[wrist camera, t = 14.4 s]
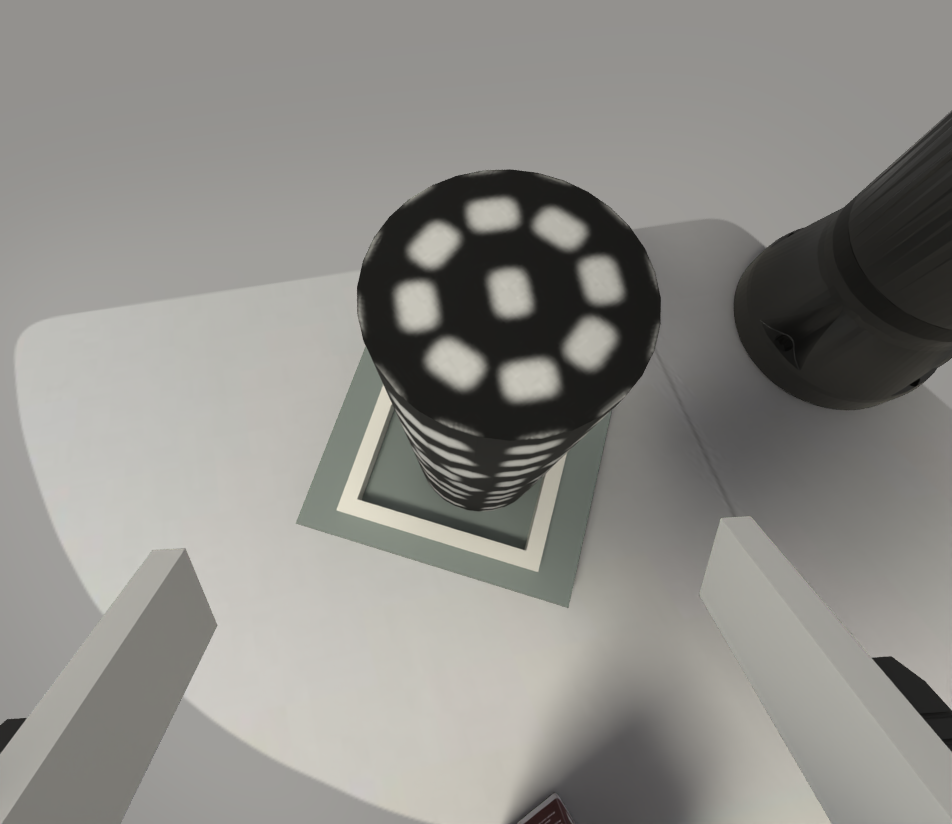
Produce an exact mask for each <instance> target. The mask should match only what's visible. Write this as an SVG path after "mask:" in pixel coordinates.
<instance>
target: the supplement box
mask: <svg viewBox="0 0 952 824" xmlns="http://www.w3.org/2000/svg"><path fill="white" fill-rule="evenodd" d="M517 824H575V822H574V820H573V819H572V817H571V815H570V814H569V812H568V810H567V809H566V807H565V805H564V804H563V802H562V800H561V799H560V797H559V796H558V794H557V793H554V794H552V795H551V796H550V797H549V798H547V799H546V800H545V801H544V802H542V803H541V804H540V805H539V806H537V807H536V808H535V809H534V810H532V811H531V812H530V813H529V814H528V815H526V816H525V817H524V818H523V819H521V820H520V821H519V822H518V823H517Z"/></svg>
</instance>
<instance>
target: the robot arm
mask: <svg viewBox="0 0 952 824" xmlns="http://www.w3.org/2000/svg"><path fill="white" fill-rule="evenodd" d="M734 315H735V322H736V326H737V330H738V333H739V336H740V338H741V341H742V343H743V345H744V347H745V349H746V351H747V352H748V354H749V355H750V357H751V359H752V360H753V361H754V363H755V364H756V365H757V366H758V367H759V369H760V370H761V371H762V372H763V373H764V374H765V375H766V376H767V377H768V378H769V379H770V380H772V381H773V382H774V383H775V384H777V385H778V386H779V387H781V388H782V389H784V390H785V391H787V392H788V393H790V394H792V395H794V396H795V397H797V398H799V399H802V400H804V401H806V402H809V403H811V404H815V405H818V406H822V407H826V408H831V409H839V410H857V409H864V408H869V407H872V406H876V405H879V404H881V403H884V402H887V401H890V400H892V399H895V398H898V397H900V396H903V395H905V394H907V393H909V392H910V391H912V390H914V389H916V388H917V387H919V386H920V385H921V384H923V383H924V382H925V381H926V380H927V379H928V378H929V377H930V376H931V375H932V374H933V373H934V372H935V370H936V369H937V368H938V367H940V366H941V365H943V364H944V363H946V362H947V361H949V360H950V359H951V358H952V111H951V112H950V113H948V114H947V115H946V116H945V117H944V118H943V119H942V120H941V121H940V122H939V123H937V124H936V125H935V126H934V127H933V128H932V129H931V130H929V131H928V132H927V133H926V134H925V135H924V136H923V137H922V138H921V139H919V140H918V141H917V142H916V143H915V144H914V145H913V146H912V147H910V148H909V149H908V150H907V151H906V152H905V153H904V154H903V155H902V156H900V157H899V158H898V159H897V160H896V161H895V162H894V163H893V164H892V165H890V166H889V167H888V168H887V169H886V170H885V171H884V172H882V173H881V174H880V175H879V176H878V177H877V178H876V179H875V180H874V181H873V182H871V183H870V184H869V185H868V186H867V187H866V188H865V189H864V190H862V192H860V193H859V194H858V195H857V196H856V197H855V198H854V199H853V200H852V201H850V203H848V204H847V205H846V206H845V207H844V208H842V209H840V210H838V211H836V212H834V213H832V214H830V215H828V216H826V217H824V218H822V219H820V220H818V221H817V222H815V223H813V224H811V225H809V226H807V227H805V228H802V229H798V230H796V231H793V232H791V233H789V234H787V235H785V236H783V237H781V238H779V239H778V240H776V241H775V242H774V243H773V244H771V245H770V246H769V247H767V248H766V249H765V250H764V251H763V252H762V253H761V254H760V255H759V256H758V257H757V258H756V259H755V260H754V261H753V262H752V263H751V264H750V265H749V267H748V268H747V269H746V270H745V272H744V274H743V275H742V277H741V279H740V281H739V283H738V286H737V289H736V294H735V300H734ZM699 596H700V598H701V599H702V601H703V603H704V605H705V606H706V608H707V610H708V611H709V613H710V615H711V617H712V618H713V620H714V622H715V623H716V625H717V627H718V629H719V630H720V632H721V634H722V636H723V637H724V639H725V641H726V642H727V644H728V646H729V648H730V649H731V651H732V653H733V654H734V656H735V658H736V660H737V661H738V663H739V665H740V667H741V668H742V670H743V672H744V673H745V675H746V677H747V679H748V680H749V682H750V684H751V685H752V687H753V689H754V691H755V692H756V694H757V696H758V697H759V699H760V701H761V703H762V704H763V706H764V708H765V710H766V711H767V713H768V715H769V716H770V718H771V720H772V722H773V723H774V725H775V727H776V728H777V730H778V732H779V734H780V735H781V737H782V739H783V741H784V742H785V744H786V746H787V747H788V749H789V751H790V753H791V754H792V756H793V758H794V759H795V761H796V763H797V765H798V766H799V768H800V770H801V772H802V773H803V775H804V777H805V778H806V780H807V782H808V784H809V785H810V787H811V789H812V790H813V792H814V794H815V796H816V797H817V799H818V801H819V802H820V804H821V806H822V808H823V809H824V811H825V813H826V815H827V816H828V818H829V820H830V821H831V823H832V824H952V710H951V709H950V708H949V707H948V706H947V705H946V704H945V703H944V702H943V701H942V699H941V698H940V697H939V696H938V695H937V694H936V693H935V692H934V691H933V690H932V689H931V687H930V686H929V685H928V684H927V683H926V682H925V681H924V680H922V679H921V678H920V677H918V676H917V675H916V674H914V673H913V672H912V671H910V670H909V669H908V668H906V667H905V666H904V665H902V664H901V663H900V662H898V661H897V660H895V659H894V658H893V657H877V658H871V657H870V656H869V654H868V653H867V652H866V651H865V650H864V649H863V647H862V646H861V645H860V644H859V643H858V642H857V640H856V639H855V638H854V637H853V636H852V635H851V633H850V632H849V631H848V630H847V629H846V627H845V626H844V625H843V624H842V623H841V622H840V620H839V619H838V618H837V617H836V616H835V615H834V613H833V612H832V611H831V610H830V609H829V608H828V606H827V605H826V604H825V603H824V602H823V601H822V599H821V598H820V597H819V596H818V595H817V593H816V592H815V591H814V590H813V589H812V588H811V586H810V585H809V584H808V583H807V582H806V581H805V579H804V578H803V577H802V576H801V575H800V574H799V572H798V571H797V570H796V569H795V568H794V567H793V565H792V564H791V563H790V562H789V561H788V559H787V558H786V557H785V556H784V555H783V554H782V552H781V551H780V550H779V549H778V548H777V547H776V545H775V544H774V543H773V542H772V541H771V540H770V538H769V537H768V536H767V535H766V534H765V533H764V531H763V530H762V529H761V528H760V527H759V526H758V524H757V523H756V522H755V521H754V520H753V518H752V517H751V516H745V517H727V518H721V519H720V522H719V526H718V529H717V533H716V536H715V540H714V543H713V547H712V550H711V554H710V558H709V561H708V565H707V568H706V572H705V575H704V579H703V582H702V586H701V589H700V593H699ZM216 627H217V623H216V621H215V618H214V616H213V614H212V611H211V609H210V606H209V604H208V602H207V599H206V597H205V594H204V592H203V590H202V587H201V585H200V582H199V580H198V578H197V575H196V573H195V570H194V568H193V566H192V563H191V561H190V558H189V556H188V554H187V551H186V549H185V548H181V549H164V550H152V552H151V553H150V554H149V556H148V557H147V558H146V560H145V561H144V562H143V564H142V565H141V566H140V568H139V569H138V570H137V572H136V573H135V574H134V576H133V577H132V578H131V580H130V581H129V582H128V584H127V585H126V586H125V588H124V589H123V590H122V592H121V593H120V594H119V596H118V597H117V598H116V600H115V601H114V602H113V604H112V605H111V606H110V608H109V609H108V610H107V612H106V613H105V614H104V616H103V617H102V618H101V620H100V621H99V622H98V624H97V625H96V626H95V628H94V629H93V630H92V632H91V633H90V635H89V636H88V637H87V639H86V640H85V641H84V643H83V644H82V645H81V647H80V648H79V649H78V651H77V652H76V653H75V655H74V656H73V657H72V659H71V660H70V661H69V663H68V664H67V665H66V667H65V668H64V669H63V671H62V672H61V674H60V675H59V676H58V677H57V679H56V680H55V681H54V683H53V684H52V685H51V687H50V688H49V689H48V691H47V692H46V693H45V695H44V696H43V697H42V699H41V700H40V701H39V703H38V704H37V705H36V707H35V708H34V709H33V711H32V712H31V714H30V715H29V716H28V717H27V718H20V719H7V720H6V721H5V722H4V723H3V724H1V725H0V824H121V822H122V820H123V818H124V816H125V814H126V812H127V810H128V807H129V805H130V803H131V801H132V799H133V797H134V795H135V793H136V791H137V789H138V787H139V785H140V783H141V781H142V778H143V777H144V775H145V773H146V771H147V769H148V766H149V764H150V762H151V760H152V758H153V756H154V754H155V752H156V750H157V748H158V746H159V744H160V742H161V740H162V738H163V736H164V734H165V732H166V730H167V728H168V726H169V723H170V721H171V719H172V717H173V715H174V713H175V711H176V709H177V707H178V705H179V703H180V701H181V699H182V697H183V695H184V693H185V691H186V689H187V687H188V685H189V682H190V680H191V678H192V676H193V674H194V672H195V670H196V668H197V666H198V664H199V662H200V660H201V658H202V656H203V654H204V652H205V650H206V648H207V646H208V644H209V642H210V639H211V637H212V635H213V633H214V631H215V629H216Z"/></svg>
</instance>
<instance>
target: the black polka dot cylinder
mask: <svg viewBox="0 0 952 824" xmlns="http://www.w3.org/2000/svg"><path fill="white" fill-rule="evenodd" d="M660 312H661V297H660V293H659V288H658V283H657V279H656V274H655V271H654V268H653V266H652V264H651V262H650V259H649V257H648V255H647V252H646V250H645V248H644V247H643V245H642V244H641V242H640V241H639V239H638V238H637V236H636V235H635V234H634V232H633V231H632V229H631V228H630V226H629V225H628V224H627V223H626V222H625V221H624V220H623V219H622V218H620V217H619V215H617V214H616V213H615V212H614V211H613V210H612V209H611V208H610V207H609V206H608V205H606V204H604V203H603V202H602V201H600V200H599V199H597V198H596V197H595V196H593V195H592V194H590V193H589V192H587V191H585V190H583V189H581V188H579V187H576V186H574V185H572V184H570V183H568V182H566V181H564V180H560V179H557V178H553V177H550V176H546V175H543V174H539V173H534V172H526V171H517V170H486V171H479V172H474V173H469V174H464V175H459V176H455V177H453V178H450V179H448V180H445V181H442V182H440V183H438V184H435V185H432V186H430V187H429V188H427V189H425V190H424V191H422V192H420V193H419V194H417V195H415V196H414V197H412V198H411V199H409V200H408V201H407V202H406V203H404V204H403V205H402V206H401V207H400V208H399V209H398V210H397V211H395V212H394V213H393V214H392V215H391V216H390V217H389V218H388V220H387V221H386V222H385V224H384V225H383V226H382V228H381V229H380V230H379V232H378V233H377V234H376V236H375V237H374V239H373V241H372V243H371V245H370V247H369V249H368V252H367V254H366V256H365V258H364V260H363V264H362V268H361V272H360V277H359V282H358V286H357V314H358V319H359V323H360V327H361V332H362V336H363V340H364V343H365V345H366V347H367V350H368V352H369V354H370V356H371V358H372V361H373V363H374V365H375V367H376V369H377V372H378V374H379V376H380V378H381V380H382V383H383V385H384V387H385V389H386V392H387V394H388V396H389V398H390V400H391V403H392V405H393V407H394V409H395V411H396V414H397V416H398V418H399V420H400V422H401V425H402V427H403V429H404V431H405V434H406V436H407V438H408V440H409V442H410V445H411V447H412V449H413V451H414V453H415V456H416V458H417V460H418V462H419V464H420V467H421V469H422V471H423V473H424V475H425V477H426V479H427V482H428V483H429V484H430V486H431V487H432V488H433V490H434V491H435V492H436V493H437V494H438V495H439V496H441V497H442V498H443V499H444V500H445V501H447V502H449V503H451V504H452V505H454V506H456V507H459V508H462V509H465V510H470V511H478V512H481V511H493V510H496V509H500V508H503V507H505V506H507V505H509V504H511V503H513V502H515V501H516V500H518V499H519V498H520V497H521V496H522V495H524V494H525V493H526V492H527V491H528V490H529V489H530V488H531V487H532V486H533V485H534V484H535V483H536V482H537V481H538V480H539V479H540V478H541V477H543V476H544V475H545V474H546V473H547V472H548V471H549V470H550V469H551V468H552V467H553V466H554V465H555V464H556V463H557V462H558V461H559V460H560V459H561V458H562V457H563V456H564V455H565V454H566V453H567V452H568V451H569V450H570V449H572V448H573V447H574V446H575V445H576V444H577V443H578V442H579V441H580V440H581V439H582V438H583V437H584V436H585V435H586V434H587V433H588V432H589V431H590V430H591V429H592V428H593V427H594V426H595V425H596V424H597V423H598V422H600V421H601V420H602V419H603V418H604V417H605V416H606V415H607V414H608V413H609V412H610V411H611V410H612V409H613V408H614V407H615V406H616V405H617V404H618V403H619V402H620V401H621V400H622V399H623V398H624V397H625V396H626V395H627V394H628V392H629V391H630V390H631V389H632V387H633V386H634V385H635V384H636V382H637V381H638V380H639V379H640V377H641V376H642V375H643V373H644V371H645V369H646V366H647V364H648V362H649V360H650V358H651V356H652V354H653V352H654V350H655V345H656V341H657V337H658V333H659V328H660Z"/></svg>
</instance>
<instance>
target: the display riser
mask: <svg viewBox="0 0 952 824" xmlns="http://www.w3.org/2000/svg"><path fill="white" fill-rule="evenodd" d="M611 411H612V410H611ZM611 411H610V412H609V413H608V414H607V415H606V416H605V417H604V418H603V419H602V420H601V421H600V422H598V423H597V424H596V425H595V426H594V427H593V428H592V429H591V430H590V431H589V432H588V433H587V434H586V435H585V436H584V437H583V438H582V439H581V440H580V441H579V442H578V443H577V444H576V445H575V446H574V447H573V448H572V449H570V450H569V451H568V452H567V453H566V454H565V455H564V456H563V457H562V458H561V459H560V460H559V461H558V462H557V463H556V464H555V465H554V466H553V467H552V468H551V469H550V470H549V471H548V472H547V473H546V474H545V475H544V476H543V477H541V478H540V479H539V480H538V481H537V482H536V483H535V484H534V485H533V486H532V487H531V488H530V489H529V490H528V491H527V492H526V493H525V494H524V495H522V496H521V497H520V498H519V499H518V500H516V501H515V502H513V503H511V504H509V505H507V506H505V507H503V508H500V509H496V510H493V511H481V512H478V511H470V510H465V509H462V508H459V507H456V506H454V505H452V504H451V503H449V502H447V501H445V500H444V499H443V498H442V497H441V496H439V495H438V494H437V493H436V492H435V491H434V490H433V488H432V487H431V486H430V484H429V483H428V482H427V479H426V477H425V475H424V473H423V471H422V469H421V467H420V464H419V462H418V460H417V458H416V456H415V453H414V451H413V449H412V447H411V445H410V442H409V440H408V438H407V436H406V434H405V431H404V429H403V427H402V425H401V422H400V420H399V418H398V416H397V414H396V411H395V409H394V407H393V405H392V403H391V400H390V398H389V396H388V394H387V392H386V389H385V387H384V385H383V383H382V380H381V378H380V376H379V374H378V372H377V369H376V367H375V365H374V363H373V361H372V358H371V356H370V354H369V352H368V350H367V347H365V350H364V352H363V355H362V357H361V360H360V362H359V365H358V367H357V370H356V372H355V375H354V377H353V380H352V383H351V385H350V388H349V390H348V393H347V395H346V398H345V400H344V403H343V405H342V408H341V410H340V413H339V415H338V418H337V420H336V423H335V426H334V428H333V431H332V433H331V436H330V438H329V441H328V443H327V446H326V448H325V451H324V453H323V456H322V458H321V461H320V463H319V466H318V468H317V471H316V474H315V476H314V479H313V481H312V484H311V486H310V489H309V491H308V494H307V496H306V499H305V501H304V504H303V506H302V509H301V511H300V514H299V517H298V519H297V522H296V524H299V525H302V526H306V527H309V528H312V529H315V530H319V531H322V532H325V533H328V534H331V535H335V536H338V537H341V538H344V539H348V540H351V541H354V542H357V543H361V544H364V545H367V546H370V547H373V548H377V549H380V550H383V551H386V552H390V553H393V554H396V555H399V556H402V557H406V558H409V559H412V560H415V561H419V562H422V563H425V564H428V565H431V566H435V567H438V568H441V569H444V570H448V571H451V572H454V573H457V574H460V575H464V576H467V577H470V578H473V579H477V580H480V581H483V582H486V583H489V584H493V585H496V586H499V587H502V588H506V589H509V590H512V591H515V592H518V593H522V594H525V595H528V596H531V597H535V598H538V599H541V600H544V601H548V602H551V603H554V604H557V605H560V606H564V607H567V608H568V607H569V602H570V598H571V593H572V589H573V584H574V580H575V575H576V571H577V566H578V561H579V557H580V552H581V548H582V543H583V539H584V534H585V530H586V525H587V521H588V516H589V511H590V507H591V502H592V498H593V493H594V489H595V484H596V480H597V475H598V471H599V466H600V461H601V457H602V452H603V448H604V443H605V439H606V434H607V430H608V425H609V421H610V416H611Z"/></svg>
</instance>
